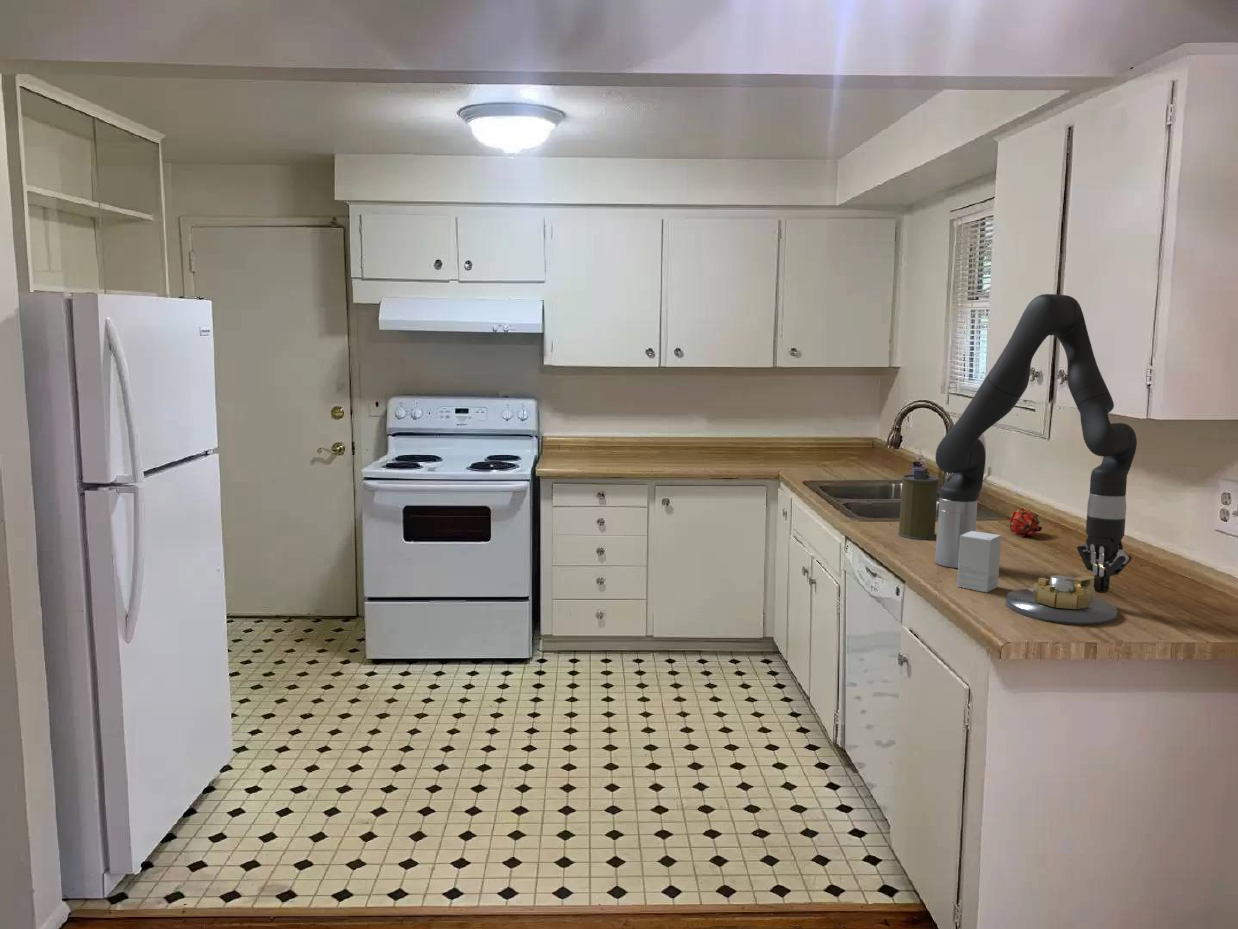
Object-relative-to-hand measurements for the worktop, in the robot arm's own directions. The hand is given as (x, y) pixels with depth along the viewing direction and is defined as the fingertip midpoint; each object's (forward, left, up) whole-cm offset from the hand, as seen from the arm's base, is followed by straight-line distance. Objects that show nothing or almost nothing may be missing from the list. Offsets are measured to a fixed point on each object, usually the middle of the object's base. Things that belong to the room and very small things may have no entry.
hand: (1100, 592), depth 206 cm
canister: (-71, -12, -4) cm, 72 cm away
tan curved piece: (0, -7, -2) cm, 7 cm away
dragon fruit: (-70, +21, -4) cm, 74 cm away
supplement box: (-17, -20, -4) cm, 26 cm away
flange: (+1, -10, -4) cm, 11 cm away
